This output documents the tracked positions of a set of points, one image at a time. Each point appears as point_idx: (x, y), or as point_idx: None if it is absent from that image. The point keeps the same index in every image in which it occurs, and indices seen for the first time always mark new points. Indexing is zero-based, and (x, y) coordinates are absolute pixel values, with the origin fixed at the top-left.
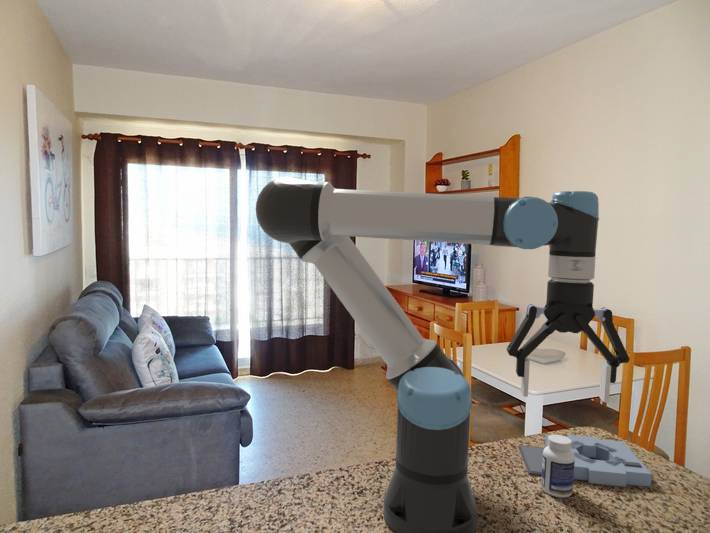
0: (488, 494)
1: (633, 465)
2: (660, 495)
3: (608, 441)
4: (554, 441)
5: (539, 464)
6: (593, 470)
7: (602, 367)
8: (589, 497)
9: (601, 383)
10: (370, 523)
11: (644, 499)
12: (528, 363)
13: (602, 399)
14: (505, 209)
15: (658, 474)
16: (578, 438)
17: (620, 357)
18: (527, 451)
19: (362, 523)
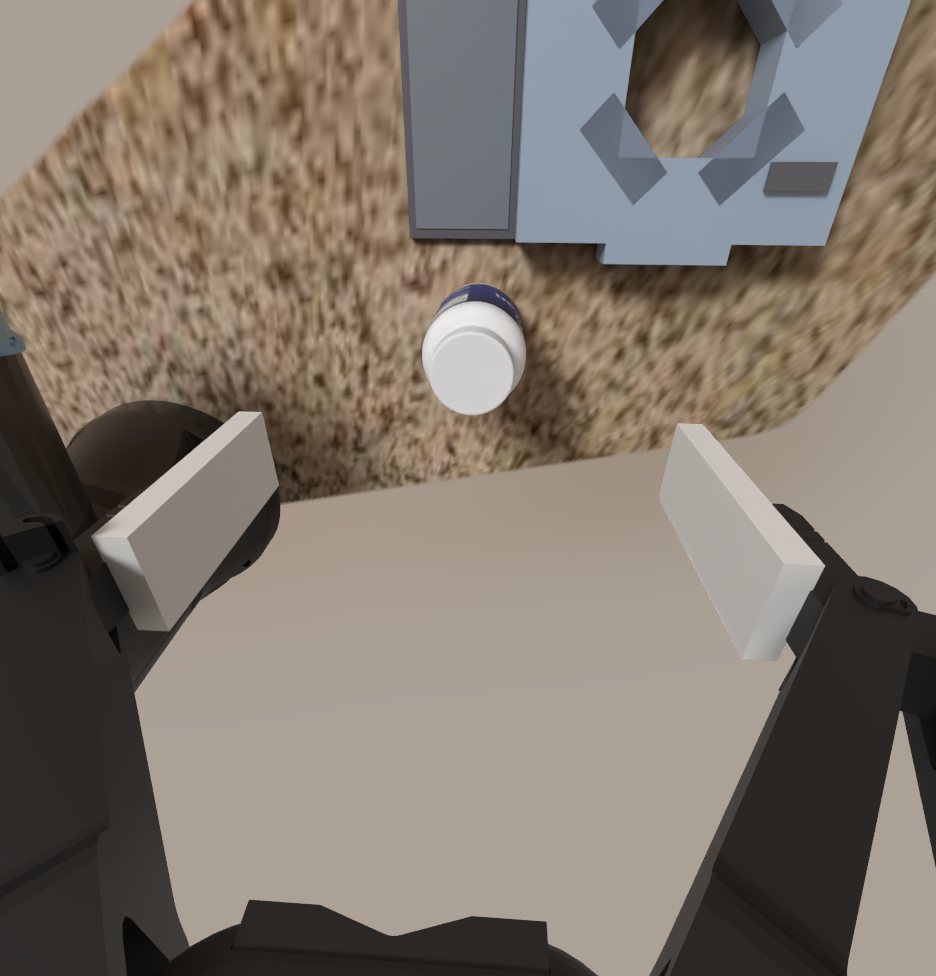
0: (295, 382)
1: (797, 190)
2: (789, 294)
3: None
4: (445, 402)
5: (456, 163)
6: (615, 263)
7: (753, 564)
8: (560, 347)
9: (703, 493)
10: None
11: (720, 328)
12: (171, 616)
13: (666, 478)
14: None
15: (911, 120)
16: None
17: (913, 720)
18: (427, 24)
19: None
